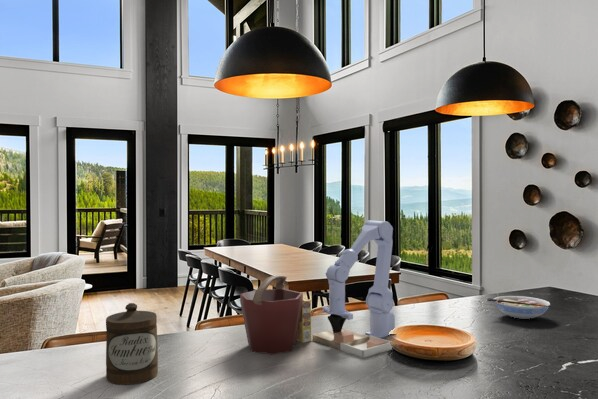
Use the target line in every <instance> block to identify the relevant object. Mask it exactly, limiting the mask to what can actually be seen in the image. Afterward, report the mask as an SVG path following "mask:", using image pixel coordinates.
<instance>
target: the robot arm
mask: <svg viewBox="0 0 598 399" xmlns="http://www.w3.org/2000/svg"><path fill="white" fill-rule="evenodd" d="M393 231H394V228H393V225H391V223H390V222H389V221H386V220H382V221H380V220H371V219H369V220H367V221H366V222H365V223H364V224H363V225H362V227H361V232H360V234H359V235H358V236H357V238H356V239H355V241H354V242H353V244H352V245H351V247H350V248H347V249H345V250H343V251H342V252H341V255H340V256H339V258H337V259H336V260H335V261H334V263H333V264H332V265H330V266H329V267H327V270H326V272H325V276H326V279H327V281H328V287H329V288H328V289H329V290H328V294H329V295H328V300H329V301H328V303H329V304H328V306H322V307H321V309H322V310H321V312H322V313H324V314H328V316H327V319H328V321H329V323H330V326H331V330H333V334H334V333H337V332H341V330H342V328H344V327H343V326H344V324H345V322H346V321H347V320H348V321H350V320H353V319H354V313H352V312H350V311H348V310H346V281H347V280H348V279H349V275H350V272H351V268H352V267H354V265H355V264H356V262H357V261H358V259H359V256H358V255H359V253H361V251H362V250H363V249H364V248H365V247H366V246H367V245H368V244H369V243H370V241H374V242H375V243H376V245H377V251H376V252H377V253H376V260H375V262H376V263H375V271H374V280H373V285H372V286H371V287H369V289H368V293H367V296H366V298H365V305H366V306H367V307H368V311H369V314H370V315H369V331H365V333H364V334H365V335H368V336H369V335H371V336H375V337H378V338H381V339H383V338H384V337H389V336H388V334H389V332H390V331H391V330H393V329H394V328H395V327H396V326H395V324H396V320H395V314H394V312H393V311H392V310H393V307H394V300H393V299H394V298H393V294H394V293H393V292H392V291H391V289H390V288H389V281H390V280H389V279H390V269H391V261H392V253H393V242H394V241H393V233H394V232H393ZM395 329H396V328H395Z"/></svg>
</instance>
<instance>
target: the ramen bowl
mask: <svg viewBox="0 0 598 399" xmlns="http://www.w3.org/2000/svg"><path fill="white" fill-rule="evenodd" d="M486 301H487V302H494V304H495V306H496V307H497V308H498V310H499V311H500V312H502V313H503V314H505V315H506V316H509V317H511V318H512V317H514V318H513V319H515V318H520V319H529V320H530V318H531V319H535V318H537V317H540V316H542V315H543V314H544V313H546V312H547V310H548V309H549V308H552V306H551V303H550V301H547V300H545V299H541V298H537V297H531V296H524V295H502V296H497V297H494V298H488V299H486Z"/></svg>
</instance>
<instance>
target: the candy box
mask: <svg viewBox="0 0 598 399" xmlns="http://www.w3.org/2000/svg"><path fill="white" fill-rule="evenodd" d="M311 302H312V301H311V299H307V298H304V297H303V303H302V309H301V314H300V320H299V325H298V331H297V336H296V341H298V342H301V343H303V344H304V343H307V342H312V314H311V313H312V303H311Z"/></svg>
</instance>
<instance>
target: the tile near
mask: <svg viewBox="0 0 598 399" xmlns="http://www.w3.org/2000/svg"><path fill="white" fill-rule="evenodd" d="M384 340H385V339H384ZM384 340H380V339H377V338H376V339H372V340H369V341H367V348H371V347H375V346H378V345H382V344H386V343H387V341H384Z"/></svg>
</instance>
